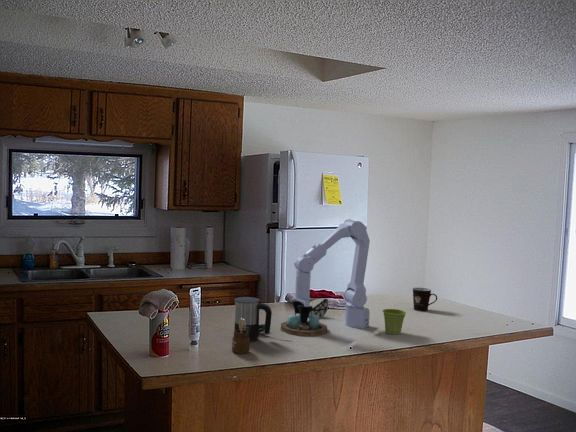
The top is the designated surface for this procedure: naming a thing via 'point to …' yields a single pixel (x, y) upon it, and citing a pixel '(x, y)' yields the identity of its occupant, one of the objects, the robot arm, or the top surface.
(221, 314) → the top surface
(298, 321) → the loose bead
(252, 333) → the milk frother
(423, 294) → the coffee mug
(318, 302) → the food container
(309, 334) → the groove tray
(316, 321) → the seated bead
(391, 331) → the plant pot
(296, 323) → the bead
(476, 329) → the top surface
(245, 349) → the brown bottle
